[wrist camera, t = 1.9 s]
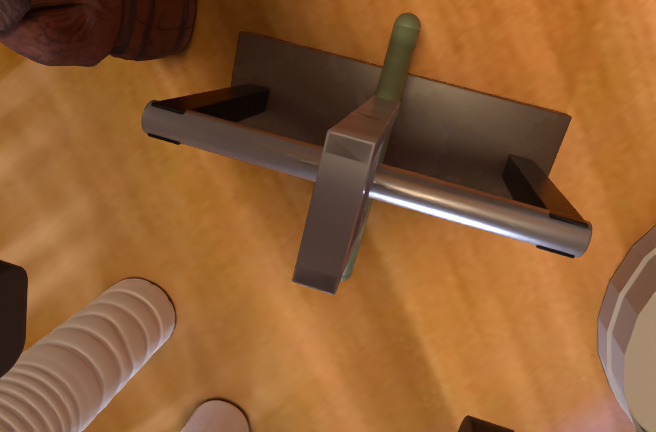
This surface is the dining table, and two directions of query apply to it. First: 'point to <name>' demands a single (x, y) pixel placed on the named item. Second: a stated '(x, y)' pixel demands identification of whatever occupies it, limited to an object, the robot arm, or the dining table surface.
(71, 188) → the dining table surface
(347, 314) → the dining table surface
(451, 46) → the dining table surface
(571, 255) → the rail stand
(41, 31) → the wooden figurine
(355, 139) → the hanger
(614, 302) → the dish
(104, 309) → the water bottle
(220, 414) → the drinking glass
